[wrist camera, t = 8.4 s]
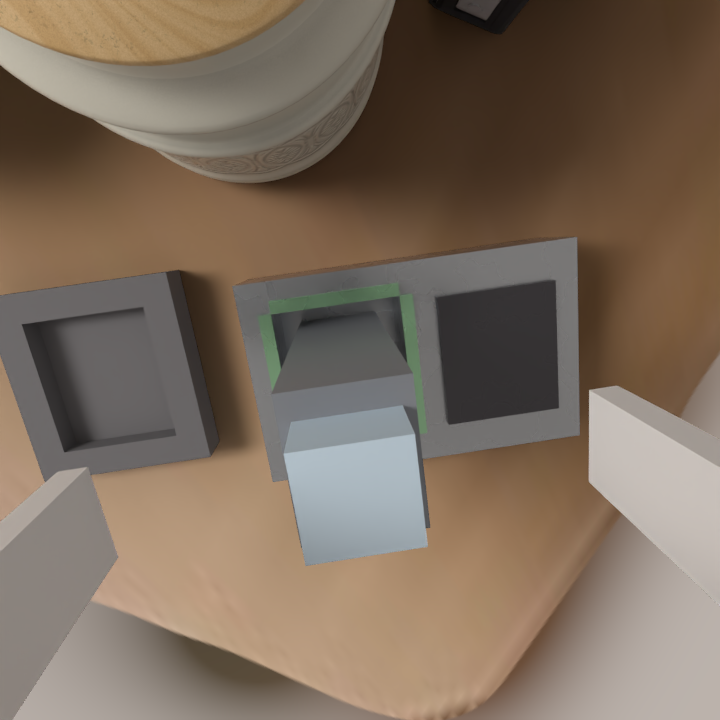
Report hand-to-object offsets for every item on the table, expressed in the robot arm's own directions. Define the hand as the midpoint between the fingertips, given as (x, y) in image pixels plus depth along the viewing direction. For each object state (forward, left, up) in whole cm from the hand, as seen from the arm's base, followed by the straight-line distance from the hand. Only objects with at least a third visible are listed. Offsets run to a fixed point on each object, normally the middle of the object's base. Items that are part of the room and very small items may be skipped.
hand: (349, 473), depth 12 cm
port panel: (0, +4, -14) cm, 15 cm away
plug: (0, 0, -13) cm, 13 cm away
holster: (-1, -12, -14) cm, 19 cm away
